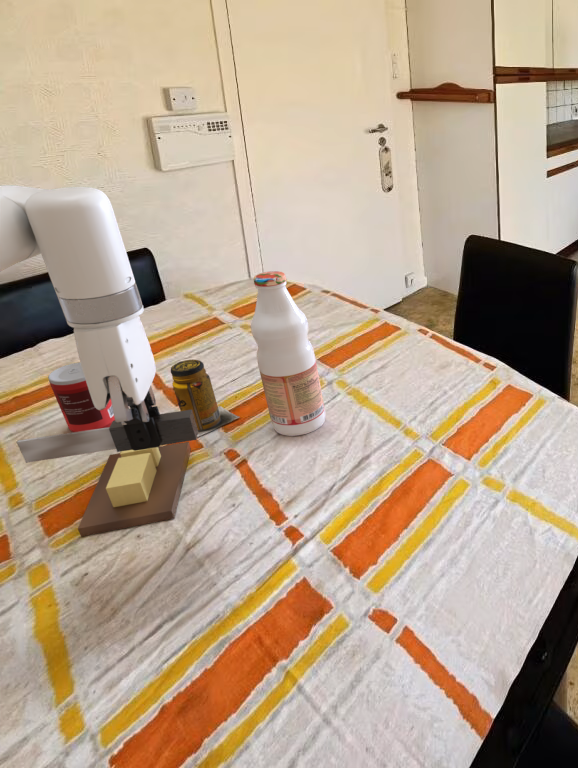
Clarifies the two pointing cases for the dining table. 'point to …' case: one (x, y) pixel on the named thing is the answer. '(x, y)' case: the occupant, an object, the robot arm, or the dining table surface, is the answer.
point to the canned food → (78, 400)
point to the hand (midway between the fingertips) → (149, 440)
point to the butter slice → (153, 451)
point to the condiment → (198, 396)
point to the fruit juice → (286, 358)
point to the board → (155, 509)
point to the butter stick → (131, 480)
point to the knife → (107, 438)
